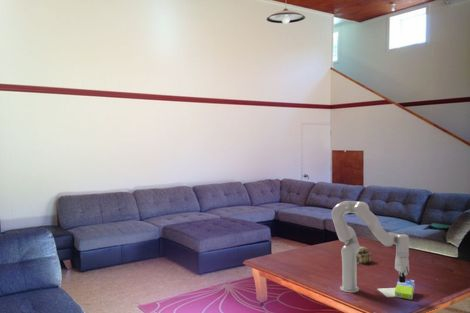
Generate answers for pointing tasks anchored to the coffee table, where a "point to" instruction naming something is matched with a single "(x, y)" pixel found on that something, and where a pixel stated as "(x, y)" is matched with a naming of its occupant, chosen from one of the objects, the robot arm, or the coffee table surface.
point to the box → (405, 289)
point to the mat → (388, 291)
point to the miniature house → (363, 256)
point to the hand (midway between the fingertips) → (402, 282)
